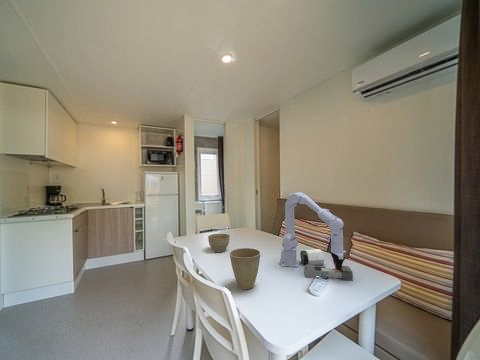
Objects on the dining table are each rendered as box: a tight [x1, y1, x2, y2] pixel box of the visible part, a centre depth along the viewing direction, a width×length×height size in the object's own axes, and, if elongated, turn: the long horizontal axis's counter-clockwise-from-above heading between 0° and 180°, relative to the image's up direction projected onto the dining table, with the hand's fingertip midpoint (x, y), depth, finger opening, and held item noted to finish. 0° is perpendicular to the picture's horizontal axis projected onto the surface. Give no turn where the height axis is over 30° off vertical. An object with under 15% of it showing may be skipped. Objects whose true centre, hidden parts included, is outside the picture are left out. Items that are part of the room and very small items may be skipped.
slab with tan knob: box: [321, 266, 342, 279], centre depth 107 cm, size 13×4×7 cm, turn 78°
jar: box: [299, 248, 325, 266], centre depth 125 cm, size 9×8×12 cm
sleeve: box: [303, 264, 328, 279], centre depth 109 cm, size 11×7×4 cm, turn 78°
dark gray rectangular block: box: [341, 265, 354, 282], centre depth 106 cm, size 4×7×4 cm, turn 168°
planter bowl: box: [207, 233, 231, 253], centre depth 154 cm, size 16×16×11 cm
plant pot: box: [229, 247, 261, 290], centre depth 100 cm, size 15×15×16 cm
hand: (337, 268), depth 107 cm, fingers closed on slab with tan knob, 3 cm apart
